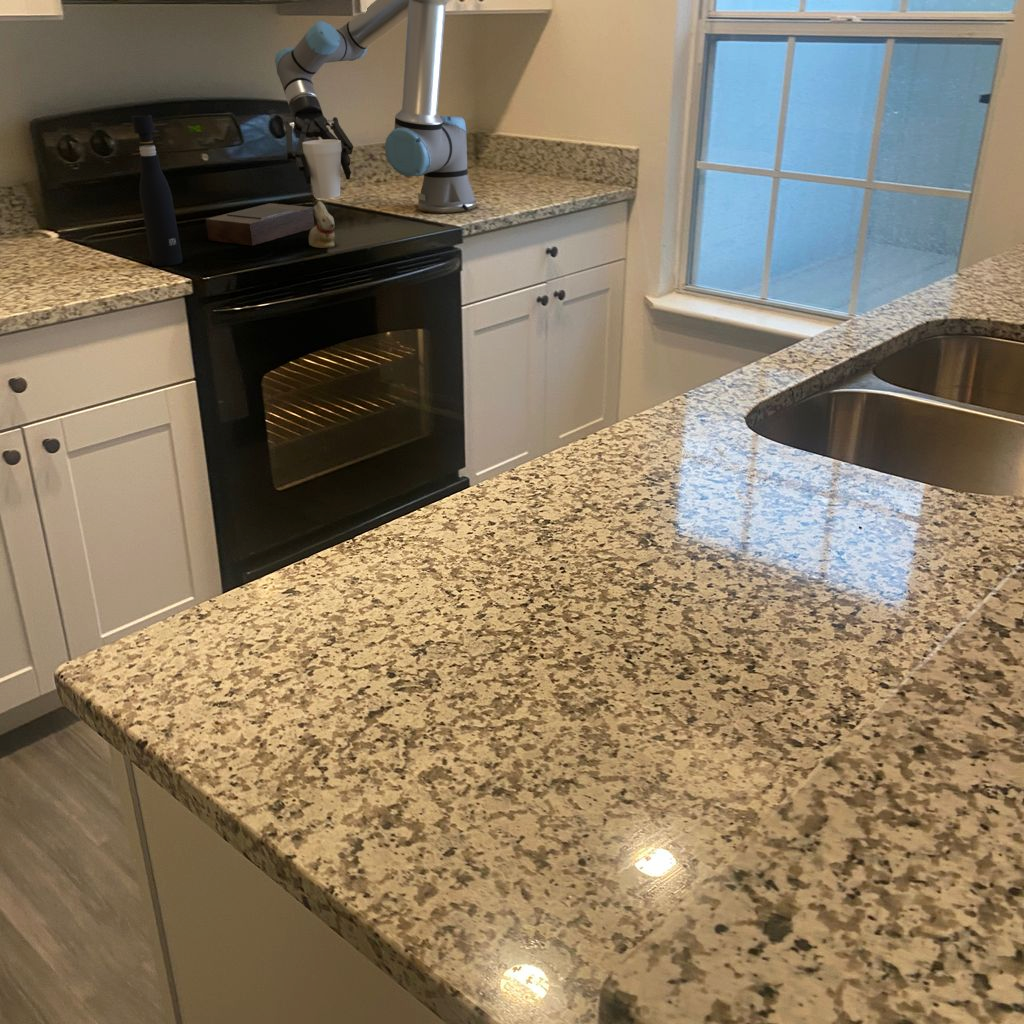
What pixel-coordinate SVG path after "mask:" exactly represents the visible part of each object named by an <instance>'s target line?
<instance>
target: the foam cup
mask: <svg viewBox="0 0 1024 1024" xmlns="http://www.w3.org/2000/svg"><path fill="white" fill-rule="evenodd" d="M302 145H303V149H302V154H304V157H305V160H306V163H307V166H308V169H309V172H310V175H311V179H310V183H311V187H312V191H313V195H314V198H315V199H320V200H321V199H323V200H324V199H325V200H327V199H336V198H339V197H341V177H342V176H341V175H342V174H341V173H342V171H341V170H342V165H341V152H342V148H341V140H332V139H328V140H323V139H313V140H305V142H303V143H302Z"/></svg>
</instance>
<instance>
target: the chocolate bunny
mask: <svg viewBox="0 0 1024 1024" xmlns="http://www.w3.org/2000/svg"><path fill="white" fill-rule="evenodd" d="M313 216H314V217H315V220H316V225H315V227H313V228H312V229H310V230H309V234H308V245H309V246H310V247H312V248H318V249H329V248H334V247H335V246H336V245H335V241H334V240H335V237H336V235H335V231H334V229H335V227H336V225H335V219H334V217H333V215H332V214H330V213H329V211H328V210H327V207H326V205H325V204H324V203H323V202H322V201H321V200H319V201H317V203H316V204H315V205H314V206H313Z"/></svg>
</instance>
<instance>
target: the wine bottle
mask: <svg viewBox="0 0 1024 1024" xmlns="http://www.w3.org/2000/svg"><path fill="white" fill-rule="evenodd" d="M131 121H132V125H133V131H134V134H138V141H139V144H140V145H139V149H138V150H139V154H140V155H139V156H138V157H139V162H140V168H141V170H140V171H141V172H140V179H139V199H140V206H141V209H142V210H141V211H142V217H143V220H144V228H145V233H146V239H147V244H148V248H149V249H148V250H149V254H150V260H151V265H152V266H155V267H169V266H170V267H171V266H177V265H180V264H182V263H183V262H184V259H183V253H182V248H181V242H180V236H179V229H178V225H177V218H176V212H175V206H174V201H173V195H172V192H171V189H170V185H169V183H168V180H167V178H166V177H165V174H164V173H163V171H162V169H161V164H160V159H159V158H160V157H159V155H158V154H157V151H156V149H157V148H156V145H154V144H153V143H154V140H153V136H152V133H155V127H154V122H153V116H152V115H151V114H139V115H137V114H136V115H132V116H131Z"/></svg>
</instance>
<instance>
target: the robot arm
mask: <svg viewBox="0 0 1024 1024" xmlns="http://www.w3.org/2000/svg"><path fill="white" fill-rule="evenodd" d="M449 2H451V0H374V1H373V2H372V3H371V4H369V5H370V6H369V5H368V6H369V7H368V6H367V7H368V8H367V7H366V8H367V11H366V13H365V14H359V13H358V14H359V15H358V14H357V15H355V16H354V17H352V18H351V19H350V20H349V21H348V22H346V23H345V24H344V25H342V26H341V27H339V28H335V27H334V26H333V25H332V24H330V23H329V22H326V21H324V20H318V21H316V22H315V23H314V24H313V25H312V26H311V27H309V28H308V30H307V31H306V33H305V34H304V35H303V36H302V38H301V40H300V41H299V42H298V43H297V44H296V46H287V47H284V49H282V50H279V51H278V52H277V53H276V54H275V57H274V63H275V68H276V75H277V77H278V78H279V81H280V84H281V86H282V89H283V92H284V95H285V99H286V102H287V104H288V107H289V111H290V113H291V117H292V119H293V122H289V121H288V120H284V121H283V122H284V123H283V131H284V134H285V141H286V142H285V145H286V146H285V149H286V151H285V152H286V159H287V160H288V161H291V160H293V162H294V164H296V167H297V170H298V171H299V172H301V171H302V173H303V176H304V179H305V183H306V184H310V183H311V175H310V172H309V169H308V166H307V162H306V158H305V154H304V153H303V145H302V143H303V142H306V139H307V138H308V139H311V138H320V139H321V140H328V139H332V140H341V148H342V152H341V169H342V170H343V174H344V176H345V179H346V180H350V179H351V173H352V170H351V169H350V168H351V167H350V166H351V163H352V161H351V158H350V155H353V151H354V150H353V149H354V145H353V143H352V142H351V140H350V139H349V137H348V135H347V134H346V133H345V131H344V129H342V127H341V125H340V124H339V119H338V117H335V116H334V117H333V118H332V119H328V118H326V117H325V116H324V112H323V109H322V107H321V104H320V101H319V97H318V95H317V92H316V89H315V86H314V84H313V81H312V78H313V77H314V76H315V75H316V74H317V72H318V71H319V70H320V69H321V68H322V66H323V65H324V64H327V63H328V64H329V63H337V62H347V61H348V62H353V61H356V60H359V59H362V58H363V57H364V56H366V54H367V52H368V48H369V47H370V46H372V45H373V44H375V43H376V42H377V41H379V40H380V39H381V38H383V37H384V36H385V35H387V34H388V33H389V32H391V31H392V30H393V29H395V28H397V26H399V25H400V24H401V23H403V22H404V21H406V20H407V26H406V39H405V41H406V42H405V55H404V72H403V73H404V74H403V89H402V103H401V109H400V110H399V111H398V112H397V113H396V114H395V116H394V129H392V130H391V131H390V132H389V134H388V135H387V137H386V139H385V143H384V152H385V157H386V159H387V162H388V164H389V165H391V167H392V169H393V170H394V171H395V172H396V173H398V174H400V175H402V176H404V177H409V178H412V177H421V176H423V180H422V184H421V189H420V192H417V197H418V203H417V204H418V210H419V211H422V212H426V213H434V214H449V213H450V214H451V213H461V212H462V213H463V212H469V211H472V210H474V209H475V208H476V207H477V198H476V196H475V194H474V190H473V188H472V185H471V182H470V179H469V170H468V167H469V166H468V142H467V141H468V140H467V135H468V131H467V127H466V126H467V125H466V121H465V119H464V118H463V117H461V116H453V115H452V116H448V115H439V114H438V107H439V106H438V105H439V95H440V84H441V83H440V81H441V70H442V68H441V67H442V58H443V57H442V55H443V46H444V45H443V44H444V34H445V20H446V19H445V18H446V7H447V4H449ZM327 126H328V127H327ZM329 128H330V129H329ZM294 129H295V130H296V131H297V132H299V133H300V135H299V138H298V142H297V144H296V149H295V151H293V132H294ZM330 130H332V132H333V133H332V132H331V131H330Z"/></svg>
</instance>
